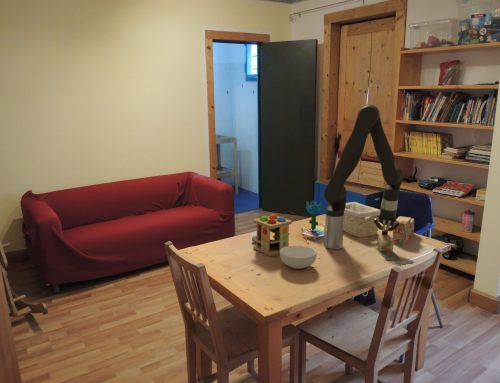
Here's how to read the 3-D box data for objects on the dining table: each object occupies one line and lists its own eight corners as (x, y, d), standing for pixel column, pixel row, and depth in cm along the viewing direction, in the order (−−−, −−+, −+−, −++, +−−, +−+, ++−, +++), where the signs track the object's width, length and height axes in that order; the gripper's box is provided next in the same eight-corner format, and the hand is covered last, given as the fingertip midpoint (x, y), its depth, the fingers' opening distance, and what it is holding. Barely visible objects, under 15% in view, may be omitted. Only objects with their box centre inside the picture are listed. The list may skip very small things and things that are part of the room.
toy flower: (312, 235, 235) (313, 204, 231) (302, 231, 242) (303, 201, 238) (324, 233, 239) (325, 202, 236) (314, 229, 247) (314, 199, 243)
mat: (387, 260, 197) (387, 260, 197) (375, 248, 214) (375, 248, 214) (401, 260, 197) (401, 260, 197) (389, 248, 214) (389, 247, 214)
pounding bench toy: (243, 244, 222) (242, 212, 218) (264, 239, 230) (264, 207, 226) (270, 256, 204) (270, 221, 200) (292, 250, 212) (292, 216, 208)
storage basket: (332, 227, 250) (332, 204, 246) (353, 224, 256) (354, 201, 253) (358, 239, 228) (359, 213, 225) (381, 235, 235) (382, 209, 232)
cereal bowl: (323, 268, 189) (324, 253, 188) (293, 275, 181) (294, 260, 180) (301, 256, 204) (301, 242, 202) (272, 263, 196) (272, 248, 194)
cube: (380, 251, 208) (382, 242, 205) (376, 244, 214) (378, 235, 210) (392, 251, 208) (394, 242, 205) (388, 244, 214) (390, 234, 210)
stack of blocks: (402, 232, 239) (403, 212, 236) (413, 234, 236) (415, 213, 233) (391, 243, 222) (393, 221, 219) (404, 245, 218) (405, 223, 216)
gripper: (374, 208, 204) (370, 238, 211) (403, 211, 200) (397, 242, 207) (375, 201, 210) (371, 231, 217) (403, 205, 206) (397, 235, 214)
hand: (384, 236), depth 212 cm, fingers closed
